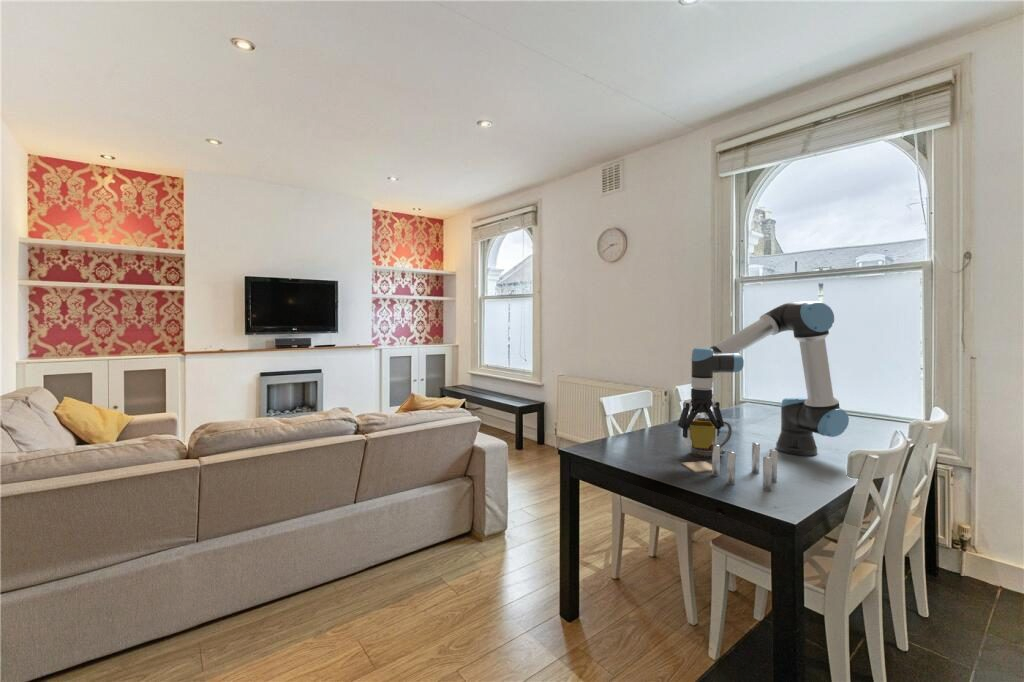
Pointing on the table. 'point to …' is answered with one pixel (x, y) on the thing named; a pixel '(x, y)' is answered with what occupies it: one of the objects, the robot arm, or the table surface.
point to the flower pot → (701, 433)
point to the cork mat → (698, 466)
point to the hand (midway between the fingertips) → (700, 445)
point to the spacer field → (768, 465)
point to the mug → (708, 451)
